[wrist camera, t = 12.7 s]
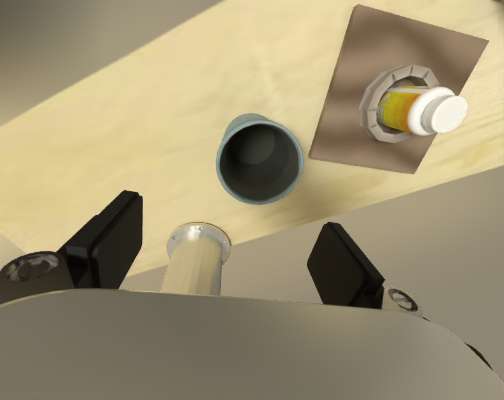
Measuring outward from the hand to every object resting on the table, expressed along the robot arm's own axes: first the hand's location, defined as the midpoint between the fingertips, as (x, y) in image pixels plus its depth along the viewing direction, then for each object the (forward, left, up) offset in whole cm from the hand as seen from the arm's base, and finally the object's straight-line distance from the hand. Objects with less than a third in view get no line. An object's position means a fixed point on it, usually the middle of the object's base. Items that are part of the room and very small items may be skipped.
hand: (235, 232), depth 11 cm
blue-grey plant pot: (-1, -3, -27) cm, 27 cm away
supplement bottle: (+8, -23, -25) cm, 35 cm away
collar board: (+8, -23, -26) cm, 36 cm away
